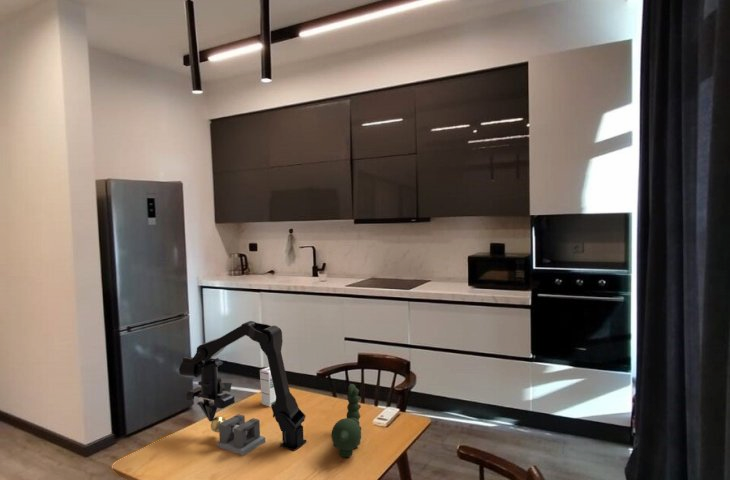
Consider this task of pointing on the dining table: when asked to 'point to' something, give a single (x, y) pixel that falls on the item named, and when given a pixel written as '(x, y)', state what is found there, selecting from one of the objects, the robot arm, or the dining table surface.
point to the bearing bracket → (240, 435)
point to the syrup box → (267, 387)
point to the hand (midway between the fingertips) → (211, 421)
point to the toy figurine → (348, 426)
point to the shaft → (219, 420)
